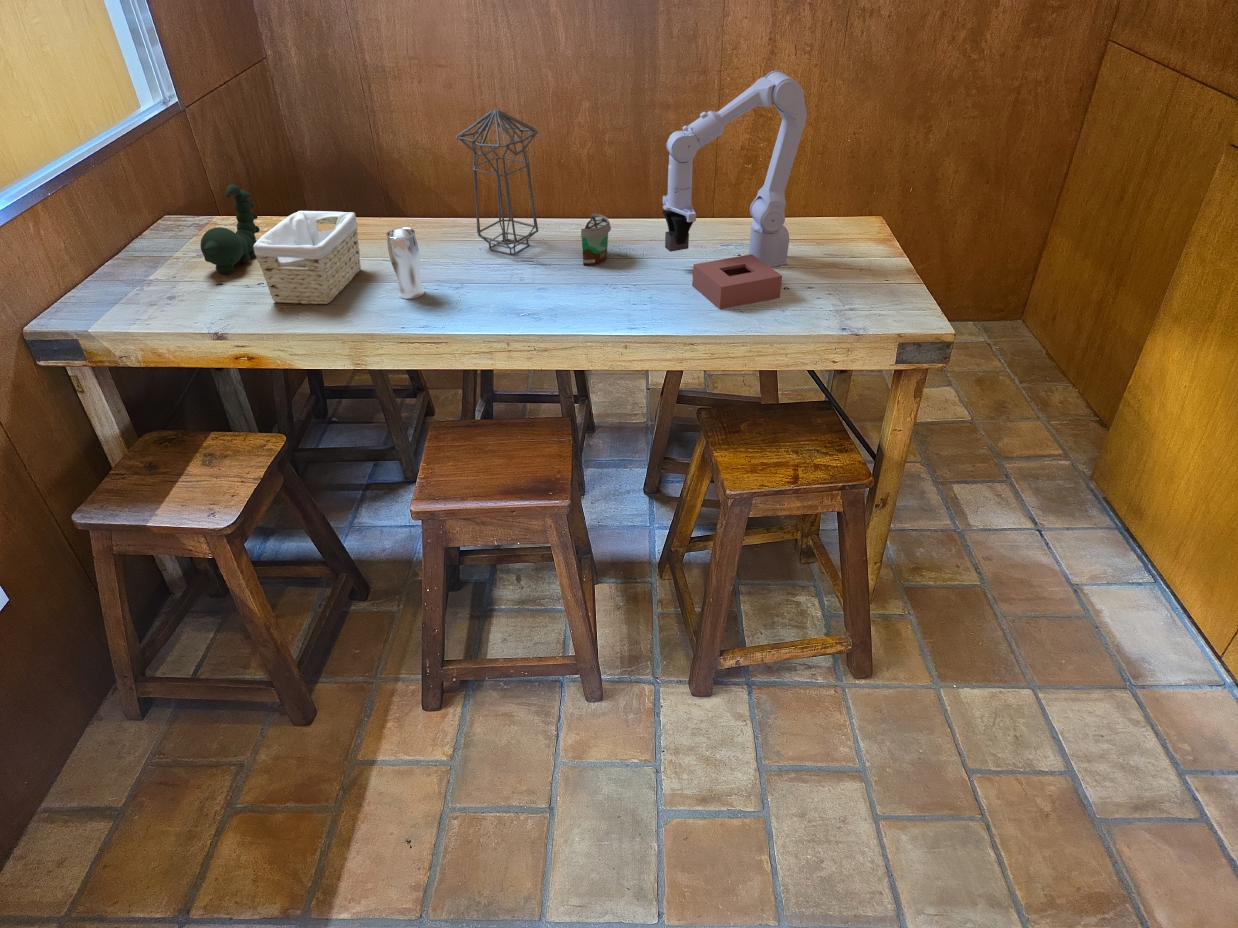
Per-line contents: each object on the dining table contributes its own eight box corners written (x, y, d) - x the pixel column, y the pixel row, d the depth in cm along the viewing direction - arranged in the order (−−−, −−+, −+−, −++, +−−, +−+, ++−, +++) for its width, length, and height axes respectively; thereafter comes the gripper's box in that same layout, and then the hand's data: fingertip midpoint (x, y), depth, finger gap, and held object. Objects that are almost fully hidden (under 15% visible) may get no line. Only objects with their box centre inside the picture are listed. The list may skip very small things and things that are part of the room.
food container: (605, 269, 199) (605, 231, 193) (582, 268, 200) (580, 229, 194) (615, 251, 208) (615, 214, 202) (593, 249, 209) (592, 212, 203)
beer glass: (400, 302, 184) (389, 240, 175) (393, 291, 189) (381, 230, 180) (429, 296, 187) (419, 235, 177) (421, 285, 191) (411, 225, 182)
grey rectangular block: (683, 244, 198) (683, 229, 195) (688, 248, 195) (689, 233, 193) (665, 247, 196) (665, 232, 194) (670, 251, 194) (670, 236, 192)
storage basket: (308, 265, 202) (294, 208, 193) (369, 267, 201) (358, 210, 192) (266, 306, 183) (248, 245, 174) (333, 309, 182) (318, 247, 173)
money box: (749, 275, 195) (751, 254, 192) (779, 297, 185) (782, 275, 182) (692, 285, 191) (693, 264, 187) (719, 309, 180) (721, 287, 177)
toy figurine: (241, 252, 213) (195, 282, 192) (223, 179, 203) (171, 203, 182) (275, 252, 213) (232, 283, 192) (258, 180, 203) (211, 204, 182)
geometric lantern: (549, 244, 212) (540, 107, 190) (513, 265, 202) (499, 123, 180) (504, 232, 219) (490, 98, 197) (466, 252, 209) (448, 113, 187)
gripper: (652, 179, 191) (651, 233, 199) (677, 197, 180) (675, 254, 188) (678, 175, 193) (676, 229, 201) (705, 193, 182) (702, 249, 190)
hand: (677, 241), depth 195 cm, fingers closed on grey rectangular block, 3 cm apart
